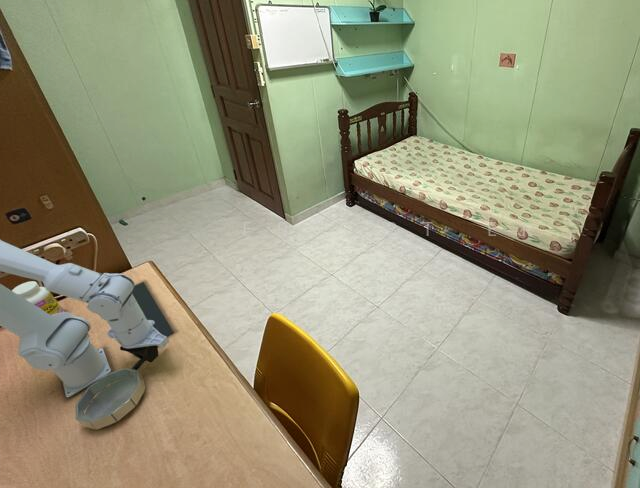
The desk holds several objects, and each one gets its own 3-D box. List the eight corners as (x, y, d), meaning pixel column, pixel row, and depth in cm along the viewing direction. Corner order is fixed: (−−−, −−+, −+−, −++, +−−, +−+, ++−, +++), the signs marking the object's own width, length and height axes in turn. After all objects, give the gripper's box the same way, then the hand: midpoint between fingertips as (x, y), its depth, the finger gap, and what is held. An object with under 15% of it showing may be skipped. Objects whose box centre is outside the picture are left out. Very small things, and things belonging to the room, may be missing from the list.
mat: (111, 297, 96) (110, 297, 96) (143, 282, 102) (143, 281, 102) (137, 354, 80) (136, 353, 80) (173, 332, 86) (173, 332, 86)
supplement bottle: (44, 332, 85) (17, 299, 79) (25, 327, 87) (-3, 295, 80) (71, 312, 91) (48, 280, 85) (53, 308, 92) (29, 276, 86)
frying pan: (150, 343, 83) (144, 332, 81) (187, 351, 81) (181, 340, 79) (70, 425, 66) (60, 414, 64) (115, 437, 65) (105, 426, 63)
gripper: (170, 313, 73) (188, 348, 80) (118, 302, 75) (140, 338, 82) (144, 339, 67) (166, 376, 74) (88, 328, 69) (114, 364, 76)
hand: (151, 358), depth 77 cm, fingers closed on frying pan
